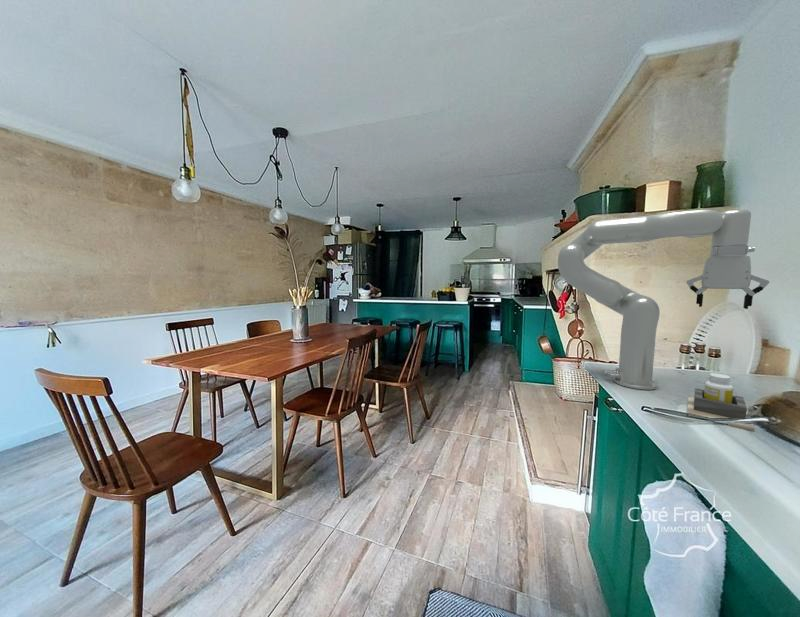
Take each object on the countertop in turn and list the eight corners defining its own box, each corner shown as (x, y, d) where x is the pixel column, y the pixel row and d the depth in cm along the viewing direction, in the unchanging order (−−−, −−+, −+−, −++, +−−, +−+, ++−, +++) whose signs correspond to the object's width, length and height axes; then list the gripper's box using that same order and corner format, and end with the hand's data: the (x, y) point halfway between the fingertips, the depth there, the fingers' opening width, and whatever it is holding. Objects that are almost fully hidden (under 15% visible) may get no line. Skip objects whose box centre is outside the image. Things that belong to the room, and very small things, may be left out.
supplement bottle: (726, 407, 84) (730, 374, 83) (734, 415, 79) (738, 380, 78) (700, 403, 87) (703, 371, 86) (705, 410, 83) (709, 376, 81)
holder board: (754, 431, 73) (756, 414, 73) (686, 415, 82) (688, 400, 81) (746, 410, 84) (748, 394, 84) (688, 398, 93) (689, 384, 92)
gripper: (770, 250, 87) (763, 308, 89) (689, 254, 99) (684, 304, 101) (775, 249, 82) (767, 310, 84) (688, 253, 94) (683, 306, 96)
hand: (722, 307), depth 93 cm, fingers open, 9 cm apart
